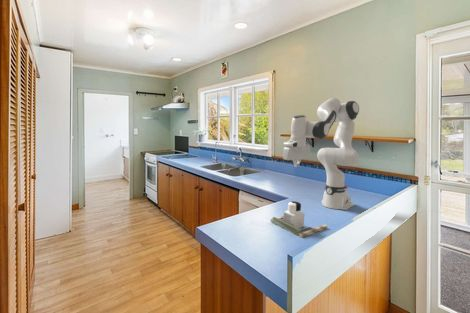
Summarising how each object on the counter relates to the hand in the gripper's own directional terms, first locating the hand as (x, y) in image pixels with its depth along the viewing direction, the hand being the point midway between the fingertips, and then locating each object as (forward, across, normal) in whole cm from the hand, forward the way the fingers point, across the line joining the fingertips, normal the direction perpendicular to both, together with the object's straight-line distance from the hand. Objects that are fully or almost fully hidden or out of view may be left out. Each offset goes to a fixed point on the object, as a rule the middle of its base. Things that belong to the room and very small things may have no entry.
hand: (296, 166), depth 145 cm
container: (+29, +14, +12) cm, 35 cm away
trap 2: (+29, +13, +20) cm, 38 cm away
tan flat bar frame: (+29, +11, +13) cm, 34 cm away
